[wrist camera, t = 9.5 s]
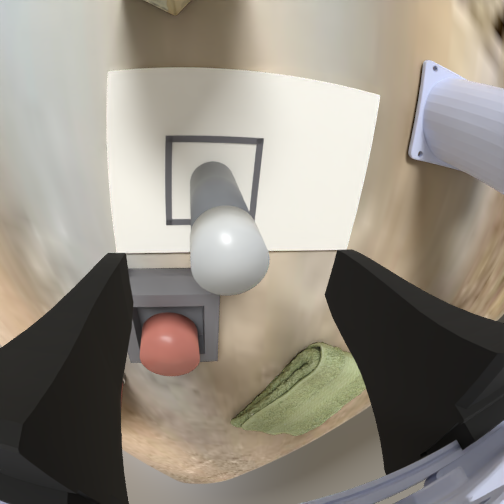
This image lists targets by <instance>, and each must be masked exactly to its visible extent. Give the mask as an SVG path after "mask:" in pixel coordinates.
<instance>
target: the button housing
mask: <svg viewBox="0 0 504 504" xmlns="http://www.w3.org/2000/svg"><path fill="white" fill-rule="evenodd" d="M128 272H129V279H130V285H131V291H132V296H133V302H134V303H133V317H132V329H131V335H130V340H129V346H128V355H129V358H130V361H131V363H142V362H141V360H140V346H141V336H142V327H143V324H144V323H145V321H146V320H147V319H148V318H150V317H151V316H153V315H156V314H159V313H165V312H171V313H177V314H181V315H183V316H186V317H187V318H189V319H190V320H192V321H193V322H194V324H195V325H196V327H197V331H198V343H199V354H200V361H199V362H208V361H218V332H219V305H220V295H217V294H214V293H211V292H209V291H207V290H205V289H203V288H202V287H201V286H200V285H199V284H198V283H197V282H196V280H195V279H194V277H193V275H192V271H191V268H156V269H128Z"/></svg>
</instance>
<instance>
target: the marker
mask: <svg viewBox="0 0 504 504" xmlns="http://www.w3.org/2000/svg"><path fill="white" fill-rule="evenodd" d="M190 214H191V232H190V258H191V271H192V275H193V277H194V279H195V280H196V282H197V283H198V284H199V285H200V286H201V287H202V288H203V289H205V290H207V291H209V292H211V293H214V294H217V295H236V294H240V293H243V292H246V291H248V290H250V289H252V288H253V287H255V286H256V285H257V284H258V283H259V282H260V281H261V280H262V279H263V277H264V276H265V274H266V272H267V270H268V267H269V253H268V249H267V247H266V245H265V243H264V241H263V238H262V236H261V234H260V232H259V229H258V227H257V225H256V223H255V221H254V219H253V218H252V217H251V214H250V212H249V210H248V208H247V205H246V203H245V201H244V199H243V196H242V194H241V192H240V190H239V187H238V185H237V183H236V181H235V178H234V176H233V174H232V172H231V170H230V169H229V168H228V167H227V166H226V165H224V164H222V163H220V162H214V161H212V162H206V163H203V164H201V165H200V166H198V167H197V168H196V169H195V170H194V172H193V174H192V176H191V179H190Z"/></svg>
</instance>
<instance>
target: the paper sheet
mask: <svg viewBox="0 0 504 504" xmlns="http://www.w3.org/2000/svg"><path fill="white" fill-rule="evenodd" d="M379 101H380V95H377V94H374V93H370V92H366V91H363V90H359V89H355V88H350V87H346V86H342V85H337V84H333V83H328V82H323V81H318V80H313V79H307V78H302V77H295V76H289V75H282V74H275V73H267V72H258V71H248V70H237V69H222V68H197V67H164V68H139V69H125V70H114V71H108V76H107V111H106V123H107V159H108V177H109V190H110V201H111V211H112V220H113V229H114V237H115V244H116V251H117V253H171V252H190V232H191V214H190V179H191V176H192V174H193V172H194V170H195V169H196V168H197V167H198V166H200V165H201V164H203V163H206V162H212V161H214V162H220V163H222V164H224V165H226V166H227V167H228V168H229V169H230V170H231V172H232V174H233V176H234V178H235V181H236V183H237V185H238V187H239V190H240V192H241V194H242V196H243V199H244V201H245V203H246V205H247V208H248V210H249V212H250V214H251V217H252V218H253V219H254V221H255V223H256V225H257V227H258V229H259V232H260V234H261V236H262V238H263V241H264V243H265V245H266V247H267V249H268V251H301V250H347V246H348V243H349V239H350V235H351V232H352V228H353V224H354V220H355V216H356V212H357V208H358V204H359V200H360V196H361V192H362V188H363V183H364V179H365V174H366V170H367V165H368V160H369V156H370V151H371V146H372V141H373V135H374V130H375V124H376V119H377V113H378V107H379Z"/></svg>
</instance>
